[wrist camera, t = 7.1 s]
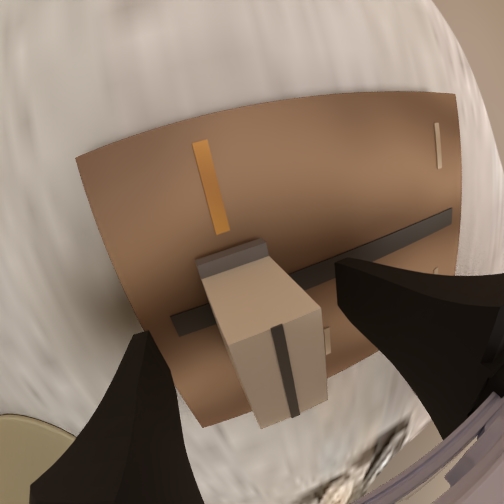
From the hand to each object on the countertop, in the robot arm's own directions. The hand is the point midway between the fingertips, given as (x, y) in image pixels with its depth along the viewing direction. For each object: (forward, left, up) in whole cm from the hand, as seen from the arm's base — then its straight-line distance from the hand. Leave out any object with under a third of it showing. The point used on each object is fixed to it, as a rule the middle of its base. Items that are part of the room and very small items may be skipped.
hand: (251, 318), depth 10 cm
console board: (0, -5, -3) cm, 6 cm away
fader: (0, 0, -1) cm, 1 cm away
